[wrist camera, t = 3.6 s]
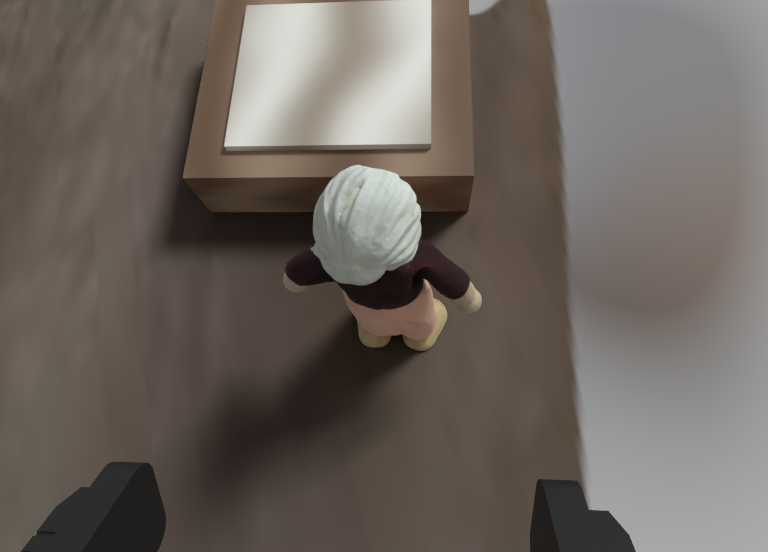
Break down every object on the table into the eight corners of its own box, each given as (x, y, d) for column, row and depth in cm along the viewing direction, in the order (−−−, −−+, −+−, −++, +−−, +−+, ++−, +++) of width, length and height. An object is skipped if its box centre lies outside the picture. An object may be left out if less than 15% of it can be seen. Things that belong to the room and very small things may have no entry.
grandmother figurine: (462, 277, 26) (494, 121, 15) (471, 352, 25) (515, 247, 13) (311, 290, 27) (223, 147, 15) (312, 364, 25) (216, 274, 14)
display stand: (210, 212, 29) (178, 173, 25) (238, 41, 33) (214, -14, 29) (467, 211, 28) (475, 170, 24) (463, 34, 32) (468, -24, 28)
